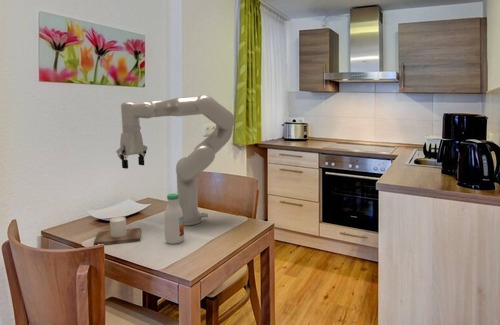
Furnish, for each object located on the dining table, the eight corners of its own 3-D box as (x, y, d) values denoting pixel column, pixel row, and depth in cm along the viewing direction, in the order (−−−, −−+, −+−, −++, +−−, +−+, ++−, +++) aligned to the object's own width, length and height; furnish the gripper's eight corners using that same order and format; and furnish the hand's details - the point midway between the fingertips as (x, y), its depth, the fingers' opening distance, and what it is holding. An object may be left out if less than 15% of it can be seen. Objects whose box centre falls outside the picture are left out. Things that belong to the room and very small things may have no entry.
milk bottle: (175, 245, 142) (173, 197, 139) (161, 242, 146) (159, 195, 143) (188, 239, 148) (186, 193, 145) (174, 236, 152) (172, 191, 149)
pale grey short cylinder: (119, 231, 155) (118, 215, 154) (129, 233, 152) (128, 218, 151) (108, 235, 149) (106, 219, 148) (118, 238, 146) (116, 222, 145)
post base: (141, 230, 159) (140, 217, 158) (140, 241, 147) (139, 226, 146) (98, 234, 154) (97, 220, 153) (93, 246, 142) (92, 230, 141)
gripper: (139, 128, 169) (141, 163, 171) (109, 130, 154) (112, 169, 157) (151, 128, 165) (153, 164, 168) (121, 131, 150) (124, 170, 153)
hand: (133, 166), depth 162 cm, fingers open, 9 cm apart
